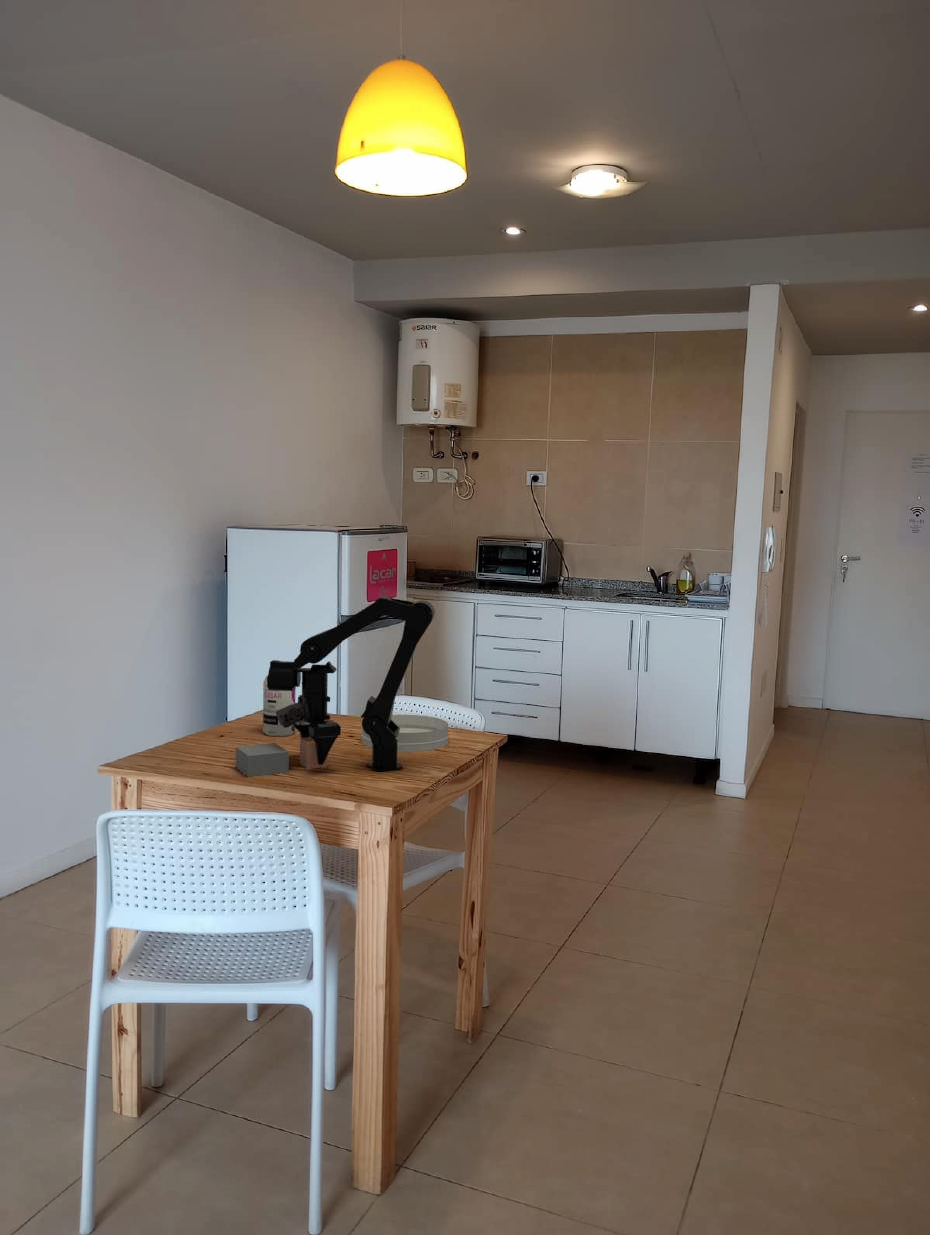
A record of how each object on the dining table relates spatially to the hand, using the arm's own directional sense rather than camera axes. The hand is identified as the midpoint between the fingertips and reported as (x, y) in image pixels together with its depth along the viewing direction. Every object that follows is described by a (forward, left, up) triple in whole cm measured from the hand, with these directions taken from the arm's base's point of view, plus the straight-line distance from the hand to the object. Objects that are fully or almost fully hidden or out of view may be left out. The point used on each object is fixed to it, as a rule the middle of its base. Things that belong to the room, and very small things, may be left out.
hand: (314, 759), depth 222 cm
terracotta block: (0, 0, -1) cm, 1 cm away
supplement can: (+34, -2, -2) cm, 34 cm away
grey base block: (0, +12, -2) cm, 12 cm away
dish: (+14, -29, -2) cm, 32 cm away
